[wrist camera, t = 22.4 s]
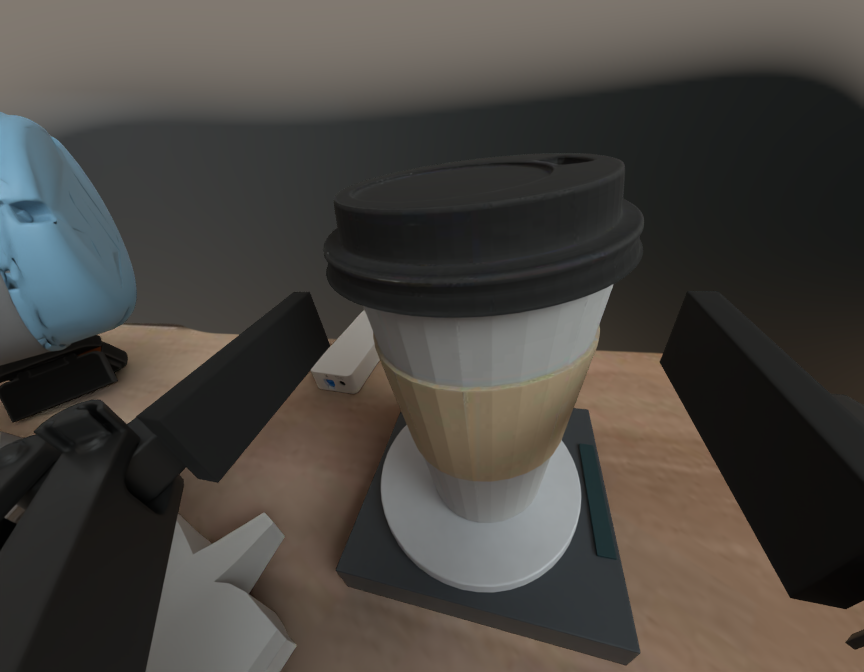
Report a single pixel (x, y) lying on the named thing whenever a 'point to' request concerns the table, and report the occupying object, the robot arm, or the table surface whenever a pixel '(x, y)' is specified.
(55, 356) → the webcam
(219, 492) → the table surface
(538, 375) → the coffee cup
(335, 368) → the multiport hub
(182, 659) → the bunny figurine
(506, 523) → the scale
